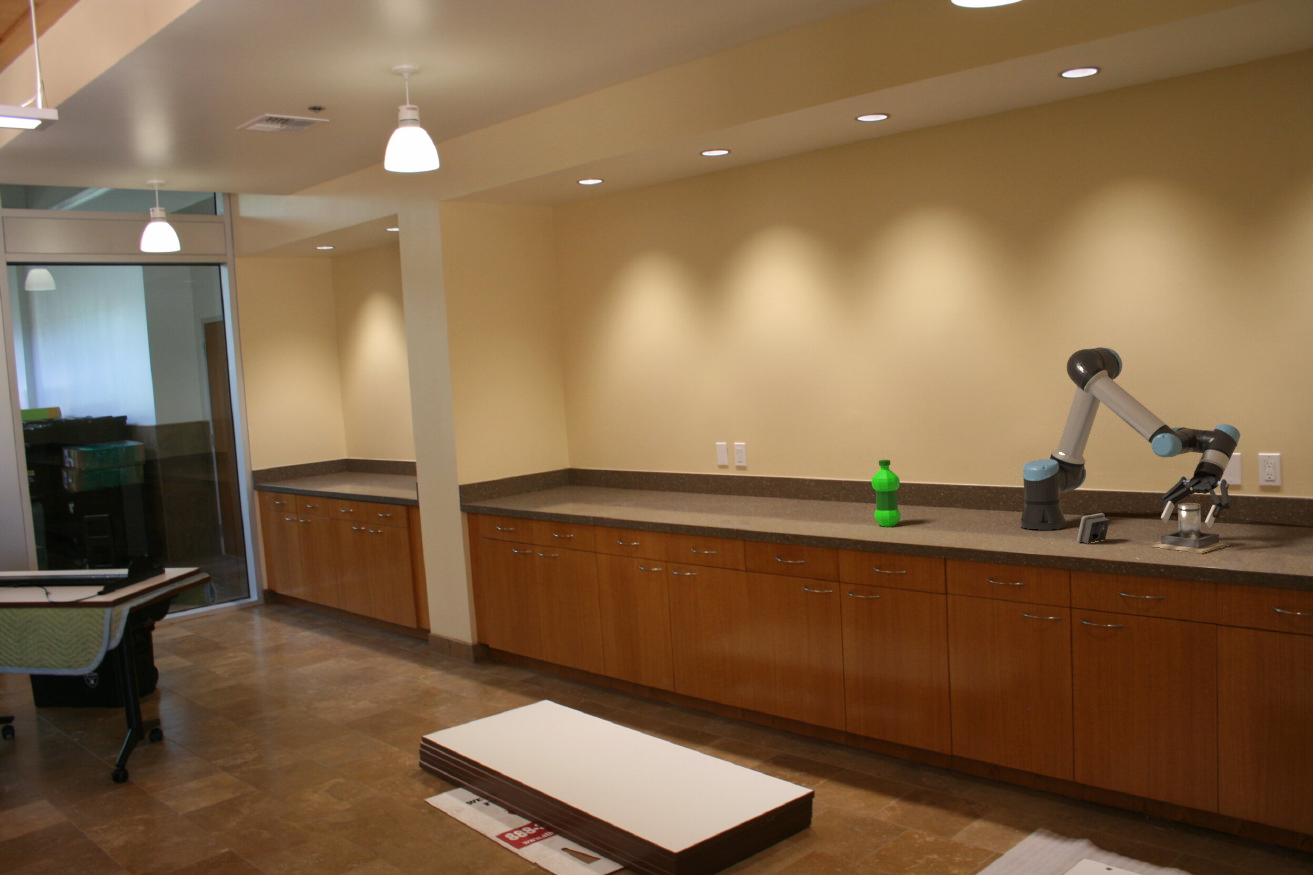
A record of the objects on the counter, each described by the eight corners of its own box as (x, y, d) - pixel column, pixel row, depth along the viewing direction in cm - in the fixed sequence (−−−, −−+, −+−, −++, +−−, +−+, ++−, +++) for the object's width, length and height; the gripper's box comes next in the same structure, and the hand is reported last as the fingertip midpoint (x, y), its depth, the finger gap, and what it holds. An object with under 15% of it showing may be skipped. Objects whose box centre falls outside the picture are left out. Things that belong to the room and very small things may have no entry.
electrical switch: (1097, 539, 314) (1098, 511, 313) (1110, 542, 310) (1111, 514, 308) (1076, 543, 311) (1077, 515, 309) (1089, 547, 306) (1090, 518, 304)
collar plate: (1150, 547, 297) (1149, 536, 297) (1179, 538, 305) (1178, 528, 305) (1201, 554, 283) (1201, 542, 283) (1231, 545, 292) (1230, 533, 291)
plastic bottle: (899, 522, 369) (895, 458, 366) (903, 527, 358) (900, 461, 356) (872, 523, 370) (869, 459, 368) (876, 528, 359) (872, 462, 357)
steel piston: (1174, 543, 295) (1173, 504, 294) (1185, 540, 299) (1184, 502, 298) (1194, 545, 290) (1193, 506, 289) (1205, 542, 293) (1205, 503, 292)
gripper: (1257, 478, 290) (1232, 534, 283) (1176, 472, 311) (1151, 525, 305) (1248, 462, 287) (1222, 519, 280) (1167, 458, 308) (1141, 511, 302)
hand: (1185, 522), depth 293 cm, fingers open, 13 cm apart
